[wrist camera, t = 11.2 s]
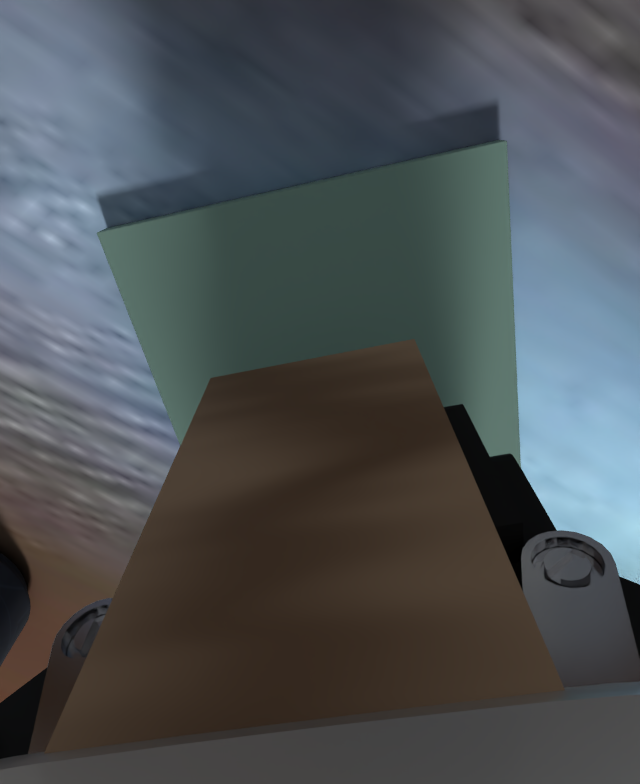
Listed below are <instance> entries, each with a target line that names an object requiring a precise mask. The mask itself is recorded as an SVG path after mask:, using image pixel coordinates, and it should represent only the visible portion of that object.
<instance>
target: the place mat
mask: <svg viewBox="0 0 640 784" xmlns="http://www.w3.org/2000/svg"><path fill="white" fill-rule="evenodd" d="M97 235H98V237H99V240H100V242H101V245H102V247H103V250H104V253H105V255H106V258H107V260H108V263H109V265H110V268H111V270H112V273H113V275H114V278H115V280H116V283H117V286H118V288H119V291H120V293H121V296H122V298H123V301H124V303H125V306H126V308H127V311H128V314H129V316H130V319H131V321H132V324H133V326H134V329H135V331H136V334H137V336H138V339H139V342H140V344H141V347H142V349H143V352H144V354H145V357H146V359H147V362H148V364H149V367H150V370H151V372H152V375H153V377H154V380H155V382H156V385H157V387H158V390H159V392H160V395H161V398H162V400H163V403H164V405H165V408H166V410H167V413H168V415H169V418H170V420H171V423H172V425H173V428H174V431H175V433H176V436H177V438H178V441H179V443H180V446H181V443H182V441H183V439H184V437H185V434H186V432H187V430H188V428H189V425H190V423H191V421H192V419H193V416H194V414H195V412H196V410H197V407H198V405H199V403H200V401H201V398H202V396H203V394H204V392H205V389H206V387H207V385H208V383H209V380H210V378H213V377H218V376H223V375H228V374H234V373H239V372H244V371H249V370H255V369H260V368H265V367H270V366H275V365H281V364H286V363H291V362H296V361H301V360H307V359H312V358H317V357H322V356H328V355H333V354H338V353H343V352H348V351H354V350H359V349H364V348H369V347H374V346H380V345H385V344H390V343H395V342H401V341H406V340H411V339H415V342H416V344H417V346H418V349H419V351H420V353H421V356H422V358H423V360H424V363H425V365H426V367H427V370H428V372H429V374H430V377H431V379H432V381H433V384H434V386H435V388H436V391H437V393H438V395H439V398H440V400H441V402H442V405H443V407H447V406H453V405H458V404H463V405H464V407H465V409H466V411H467V413H468V415H469V417H470V419H471V421H472V423H473V425H474V426H475V428H476V430H477V432H478V434H479V436H480V438H481V440H482V442H483V444H484V446H485V448H486V450H487V452H488V454H489V456H490V457H491V456H497V455H503V454H509V453H510V454H512V455H513V456H514V458H515V459H516V461H517V463H518V464H519V466H520V468H521V464H520V440H519V417H518V394H517V370H516V347H515V324H514V300H513V277H512V253H511V230H510V207H509V183H508V160H507V141H503V140H496V141H492V142H487V143H483V144H478V145H474V146H469V147H465V148H461V149H456V150H452V151H447V152H443V153H438V154H434V155H430V156H425V157H421V158H416V159H412V160H407V161H403V162H398V163H394V164H390V165H385V166H381V167H376V168H372V169H367V170H363V171H358V172H354V173H350V174H345V175H341V176H336V177H332V178H327V179H323V180H319V181H314V182H310V183H305V184H301V185H296V186H292V187H287V188H283V189H279V190H274V191H270V192H265V193H261V194H256V195H252V196H247V197H243V198H239V199H234V200H230V201H225V202H221V203H216V204H212V205H208V206H203V207H199V208H194V209H190V210H185V211H181V212H176V213H172V214H168V215H163V216H159V217H154V218H150V219H145V220H141V221H137V222H132V223H128V224H123V225H119V226H114V227H110V228H106V229H104V230H102V231H100V232H98V233H97Z"/></svg>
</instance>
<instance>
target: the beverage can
mask: <svg viewBox="0 0 640 784" xmlns="http://www.w3.org/2000/svg"><path fill="white" fill-rule="evenodd" d="M29 614H30V599H29V595H28V592H27V586H26V582H25V580H24V578H23V576H22V574H21V572H20V571H19V569H18V568H17V567H16V566H15V565H14V564H13V563H12V562H11V561H10V560H9V559H8V558H7V557H6V556H4V555H3V554H1V553H0V666H1V664H2V662H3V661H4V659H5V657H6V656H7V654H8V652H9V651H10V649H11V647H12V646H13V644H14V642H15V641H16V639H17V637H18V636H19V634H20V632H21V631H22V629H23V627H24V626H25V624H26V622H27V620H28V618H29Z"/></svg>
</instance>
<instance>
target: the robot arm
mask: <svg viewBox="0 0 640 784" xmlns="http://www.w3.org/2000/svg"><path fill="white" fill-rule="evenodd" d="M444 409H445V412H446V414H447V416H448V419H449V421H450V423H451V426H452V428H453V430H454V433H455V435H456V437H457V440H458V442H459V444H460V446H461V449H462V451H463V453H464V456H465V458H466V460H467V463H468V465H469V467H470V470H471V472H472V474H473V477H474V479H475V481H476V484H477V486H478V488H479V491H480V493H481V495H482V498H483V500H484V502H485V505H486V507H487V509H488V512H489V514H490V516H491V519H492V521H493V523H494V526H495V528H496V530H497V533H498V535H499V537H500V540H501V542H502V544H503V547H504V549H505V551H506V554H507V556H508V558H509V561H510V563H511V565H512V568H513V570H514V572H515V575H516V577H517V579H518V582H519V584H520V586H521V589H522V591H523V593H524V595H525V598H526V600H527V602H528V605H529V607H530V609H531V612H532V614H533V616H534V619H535V621H536V623H537V626H538V628H539V630H540V633H541V635H542V637H543V640H544V642H545V644H546V647H547V649H548V651H549V654H550V656H551V658H552V661H553V663H554V665H555V668H556V670H557V672H558V675H559V677H560V679H561V682H562V684H563V686H564V689H565V690H562V691H552V692H543V693H535V694H526V695H517V696H509V697H500V698H492V699H483V700H474V701H466V702H457V703H448V704H440V705H431V706H422V707H414V708H405V709H397V710H389V711H380V712H372V713H364V714H356V715H348V716H340V717H332V718H323V719H315V720H307V721H299V722H291V723H283V724H275V725H266V726H258V727H250V728H242V729H234V730H225V731H217V732H209V733H201V734H193V735H185V736H177V737H169V738H162V739H154V740H146V741H138V742H131V743H123V744H115V745H107V746H100V747H92V748H84V749H77V750H69V751H61V752H53V753H46V754H44V752H45V750H46V748H47V746H48V743H49V741H50V739H51V737H52V734H53V732H54V730H55V728H56V725H57V723H58V721H59V719H60V716H61V714H62V712H63V709H64V707H65V705H66V703H67V700H68V698H69V696H70V694H71V691H72V689H73V687H74V685H75V682H76V680H77V678H78V676H79V673H80V671H81V669H82V667H83V664H84V662H85V660H86V658H87V655H88V653H89V651H90V649H91V646H92V644H93V642H94V640H95V637H96V635H97V633H98V631H99V628H100V626H101V624H102V622H103V619H104V617H105V615H106V613H107V610H108V608H109V606H110V604H111V601H112V599H113V598H107V599H103V600H99V601H96V602H94V603H92V604H90V605H87V606H85V607H84V608H82V609H81V610H79V611H78V612H77V613H75V614H74V615H73V616H72V617H71V618H70V619H69V620H68V621H67V622H66V623H65V624H64V625H63V626H62V628H61V629H60V630H59V632H58V633H57V635H56V638H55V640H54V643H53V645H52V650H51V654H50V659H49V663H48V667H47V668H46V669H45V670H43V671H42V672H41V673H39V674H38V675H37V676H35V677H34V678H33V679H31V680H30V681H29V682H27V683H26V684H25V685H23V686H22V687H21V688H19V689H18V690H17V691H16V692H14V693H13V694H12V695H10V696H9V697H8V698H6V699H5V700H4V701H2V702H1V703H0V784H640V585H639V584H637V583H634V582H632V581H629V580H627V579H624V578H622V577H619V575H618V571H617V567H616V563H615V561H614V559H613V557H612V555H611V553H610V552H609V551H608V550H607V549H606V548H605V547H604V546H603V545H602V544H600V543H599V542H597V541H595V540H594V539H592V538H590V537H588V536H585V535H582V534H579V533H576V532H570V531H557V530H556V529H555V527H554V525H553V523H552V522H551V520H550V518H549V516H548V515H547V513H546V511H545V509H544V508H543V506H542V504H541V503H540V501H539V499H538V497H537V496H536V494H535V492H534V490H533V489H532V487H531V485H530V483H529V482H528V480H527V478H526V477H525V475H524V473H523V471H522V470H521V468H520V466H519V464H518V463H517V461H516V459H515V458H514V456H513V455H512V454H510V453H509V454H503V455H497V456H491V457H490V456H489V454H488V452H487V450H486V448H485V446H484V444H483V442H482V440H481V438H480V436H479V434H478V432H477V430H476V428H475V426H474V425H473V423H472V421H471V419H470V417H469V415H468V413H467V411H466V409H465V407H464V405H463V404H458V405H453V406H447V407H444Z"/></svg>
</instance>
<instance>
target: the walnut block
mask: <svg viewBox="0 0 640 784" xmlns="http://www.w3.org/2000/svg"><path fill="white" fill-rule="evenodd" d="M562 690H565V689H564V686H563V684H562V682H561V679H560V677H559V675H558V672H557V670H556V668H555V665H554V663H553V661H552V658H551V656H550V654H549V651H548V649H547V647H546V644H545V642H544V640H543V637H542V635H541V633H540V630H539V628H538V626H537V623H536V621H535V619H534V616H533V614H532V612H531V609H530V607H529V605H528V602H527V600H526V598H525V595H524V593H523V591H522V589H521V586H520V584H519V582H518V579H517V577H516V575H515V572H514V570H513V568H512V565H511V563H510V561H509V558H508V556H507V554H506V551H505V549H504V547H503V544H502V542H501V540H500V537H499V535H498V533H497V530H496V528H495V526H494V523H493V521H492V519H491V516H490V514H489V512H488V509H487V507H486V505H485V502H484V500H483V498H482V495H481V493H480V491H479V488H478V486H477V484H476V481H475V479H474V477H473V474H472V472H471V470H470V467H469V465H468V463H467V460H466V458H465V456H464V453H463V451H462V449H461V446H460V444H459V442H458V440H457V437H456V435H455V433H454V430H453V428H452V426H451V423H450V421H449V419H448V416H447V414H446V412H445V409H444V407H443V405H442V402H441V400H440V398H439V395H438V393H437V391H436V388H435V386H434V384H433V381H432V379H431V377H430V374H429V372H428V370H427V367H426V365H425V363H424V360H423V358H422V356H421V353H420V351H419V349H418V346H417V344H416V342H415V339H411V340H406V341H401V342H395V343H390V344H385V345H380V346H374V347H369V348H364V349H359V350H354V351H348V352H343V353H338V354H333V355H328V356H322V357H317V358H312V359H307V360H301V361H296V362H291V363H286V364H281V365H275V366H270V367H265V368H260V369H255V370H249V371H244V372H239V373H234V374H228V375H223V376H218V377H213V378H210V380H209V383H208V385H207V387H206V389H205V392H204V394H203V396H202V398H201V401H200V403H199V405H198V407H197V410H196V412H195V414H194V416H193V419H192V421H191V423H190V425H189V428H188V430H187V432H186V434H185V437H184V439H183V441H182V443H181V446H180V448H179V450H178V453H177V455H176V457H175V459H174V462H173V464H172V466H171V468H170V471H169V473H168V475H167V477H166V480H165V482H164V484H163V486H162V489H161V491H160V493H159V495H158V498H157V500H156V502H155V504H154V507H153V509H152V511H151V513H150V516H149V518H148V520H147V522H146V525H145V527H144V529H143V531H142V534H141V536H140V538H139V540H138V543H137V545H136V547H135V549H134V552H133V554H132V556H131V558H130V561H129V563H128V565H127V567H126V570H125V572H124V574H123V576H122V579H121V581H120V583H119V586H118V588H117V590H116V592H115V595H114V597H113V599H112V601H111V604H110V606H109V608H108V610H107V613H106V615H105V617H104V619H103V622H102V624H101V626H100V628H99V631H98V633H97V635H96V637H95V640H94V642H93V644H92V646H91V649H90V651H89V653H88V655H87V658H86V660H85V662H84V664H83V667H82V669H81V671H80V673H79V676H78V678H77V680H76V682H75V685H74V687H73V689H72V691H71V694H70V696H69V698H68V700H67V703H66V705H65V707H64V709H63V712H62V714H61V716H60V719H59V721H58V723H57V725H56V728H55V730H54V732H53V734H52V737H51V739H50V741H49V743H48V746H47V748H46V750H45V752H44V754H46V753H53V752H61V751H69V750H77V749H84V748H92V747H100V746H107V745H115V744H123V743H131V742H138V741H146V740H154V739H162V738H169V737H177V736H185V735H193V734H201V733H209V732H217V731H225V730H234V729H242V728H250V727H258V726H266V725H275V724H283V723H291V722H299V721H307V720H315V719H323V718H332V717H340V716H348V715H356V714H364V713H372V712H380V711H389V710H397V709H405V708H414V707H422V706H431V705H440V704H448V703H457V702H466V701H474V700H483V699H492V698H500V697H509V696H517V695H526V694H535V693H543V692H552V691H562Z"/></svg>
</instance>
